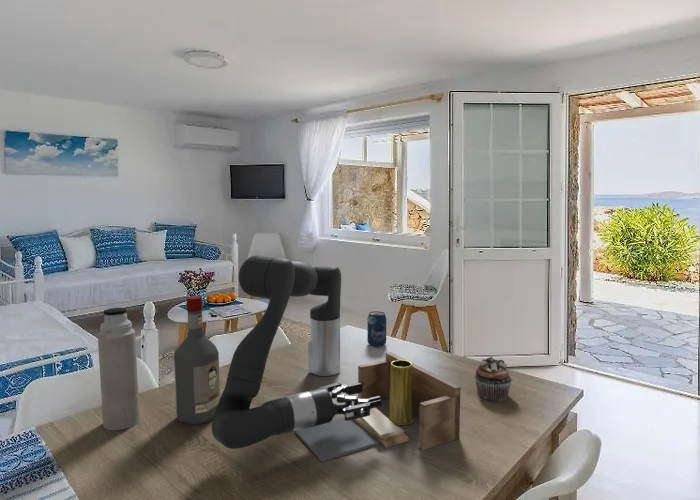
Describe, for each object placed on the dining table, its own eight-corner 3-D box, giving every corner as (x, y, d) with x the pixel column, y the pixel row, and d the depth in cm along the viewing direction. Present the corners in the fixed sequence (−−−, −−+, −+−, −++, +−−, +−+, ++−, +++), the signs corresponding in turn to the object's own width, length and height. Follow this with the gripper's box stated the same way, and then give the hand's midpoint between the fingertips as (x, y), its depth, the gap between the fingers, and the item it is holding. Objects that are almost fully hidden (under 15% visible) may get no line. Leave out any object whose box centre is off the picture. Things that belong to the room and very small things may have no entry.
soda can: (373, 349, 169) (373, 316, 167) (364, 343, 175) (364, 312, 174) (389, 346, 172) (390, 314, 171) (380, 341, 178) (380, 310, 177)
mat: (321, 461, 97) (321, 459, 97) (295, 432, 109) (295, 430, 109) (379, 444, 104) (379, 441, 103) (347, 418, 116) (347, 416, 116)
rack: (396, 459, 98) (396, 403, 96) (334, 408, 121) (334, 363, 120) (459, 438, 106) (460, 386, 105) (390, 394, 130) (390, 352, 129)
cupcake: (468, 395, 129) (469, 360, 128) (484, 385, 136) (485, 351, 135) (501, 406, 123) (502, 368, 121) (516, 394, 130) (518, 359, 128)
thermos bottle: (121, 412, 119) (115, 304, 116) (147, 417, 116) (141, 306, 113) (95, 427, 111) (87, 311, 108) (121, 432, 109) (115, 314, 106)
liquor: (171, 420, 115) (165, 300, 111) (195, 405, 123) (191, 292, 120) (202, 427, 112) (197, 302, 108) (225, 410, 120) (221, 295, 117)
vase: (413, 414, 118) (413, 359, 116) (413, 426, 112) (414, 368, 110) (388, 413, 118) (389, 358, 117) (388, 425, 112) (388, 367, 111)
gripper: (322, 405, 95) (388, 389, 103) (294, 381, 108) (355, 368, 116) (322, 440, 96) (388, 421, 104) (295, 412, 109) (355, 397, 116)
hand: (371, 393), depth 110 cm, fingers open, 8 cm apart
